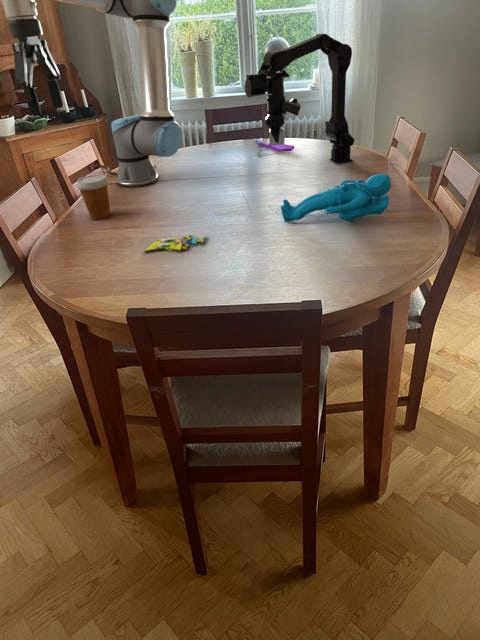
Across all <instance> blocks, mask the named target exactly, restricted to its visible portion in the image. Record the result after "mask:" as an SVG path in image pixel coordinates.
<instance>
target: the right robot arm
mask: <svg viewBox="0 0 480 640" xmlns="http://www.w3.org/2000/svg"><path fill="white" fill-rule="evenodd" d="M318 50H319V51H321V52H322V53H323V54H324V55H326V56H327V61H328V66H329V69H330V71H331V74H332V75H331V107H330V108H331V110H330V111H331V113H330V118H329V120H327V121H325V123H324V125H325V130H324V134H326V137H327V139H328V140H329V143H330V144H331V149H330V158H329V161H331V162H333V163H335V164H344V163H348V162H352V161H353V158H351V147H352V146H354V143H355V139H354V137H353V136H352V135H351V134H350V131H349V123H348V121H347V119H346V118H347V117H346V88H347V87H346V86H347V73H348V69H349V67H350V66H351V63H352V56H353V49H352V47H351V46H350V45H349V44H347V43H342V42H341V41H339V40H337V39H335V38H333V37H331V36H330V35H329V34H327V33H317V34H316V35H314V36H312V37H310V38H308V39H305V40H303V41H301V42H299V43H296V44H294V45H291V46H289V47H286V48H280V49H273V50H269V51H266V52H265V53H264V56H263V60H262V63H261V65H260V67H259V69H258V70H257V73H254V74H253V73H252V74H250V73H249V74H246V77H245V78H246V79H245V81H244V85H243V86H244V87H243V88H244V93H245V96H246V97H247V98H254V97H261V96H264V95H265V96H266V102H267V116H266V117H265V125H266V126H267V127H268V130H270V131H271V134H272V136H273V138H274V140H275V142H276V143H278V142H279V135H280V128H283V126H284V125H285V122H286V116H287V113H289V114H292V115H294V116H296V117H297V116H299V113H300V110H301V106H302V104H301V103H300V102H298V98H296V97H292V99H286V95H285V84H284V83H285V81H284V79H285V78H289V77H290V74H289V73H288V72H287V71H286V68H287V67H288V66H290V65H291V64H292V63H293V62H294V61H295V60H298V59H300V58H302V57H304V56H307V55H309V54H312V53H313V52H316V51H318Z"/></svg>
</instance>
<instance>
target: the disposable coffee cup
mask: <svg viewBox="0 0 480 640" xmlns="http://www.w3.org/2000/svg"><path fill="white" fill-rule="evenodd" d="M108 182H109V179H108V178H107V177H106V175H105V174H90V175H86V176H82V177H80V178H78V179H77V183H76V187H77V188H78V190H79V192H80V195H81V197H82V199H83V202H84V204H85V207H86V209H87V212H88V214H89V217H90V219H92V220H103V219H106V218H109V217H110V216H111V206H110V197H109V196H110V195H109V187H108Z"/></svg>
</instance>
